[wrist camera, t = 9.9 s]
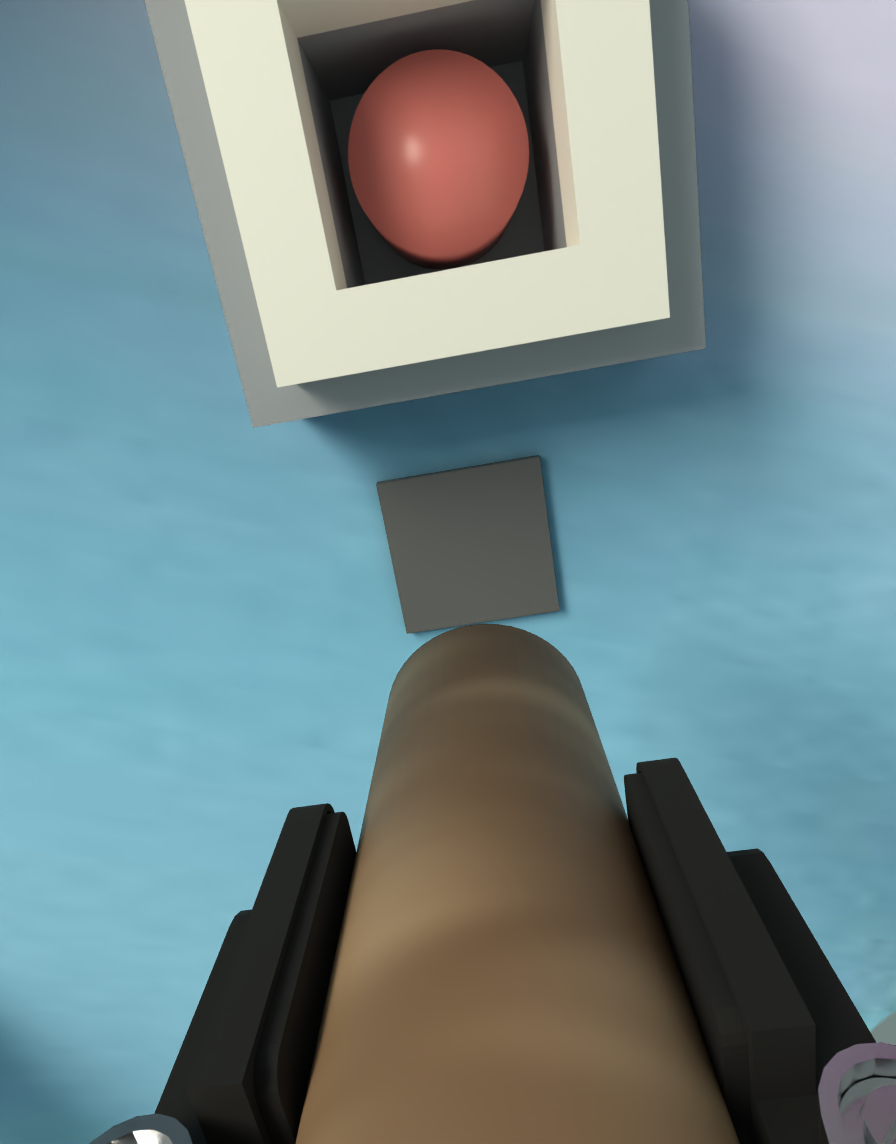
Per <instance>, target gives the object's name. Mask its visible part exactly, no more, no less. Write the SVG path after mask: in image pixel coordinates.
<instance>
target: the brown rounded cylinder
mask: <svg viewBox="0 0 896 1144" xmlns="http://www.w3.org/2000/svg"><path fill="white" fill-rule="evenodd" d="M296 1144H740V1143H739V1140H738V1137H737V1134H736V1131H735V1128H734V1125H733V1123H732V1120H731V1117H730V1114H729V1112H728V1109H727V1106H726V1103H725V1101H724V1098H723V1095H722V1092H721V1089H720V1086H719V1083H718V1080H717V1077H716V1074H715V1072H714V1069H713V1066H712V1063H711V1060H710V1057H709V1054H708V1051H707V1048H706V1045H705V1042H704V1040H703V1037H702V1034H701V1031H700V1028H699V1025H698V1022H697V1019H696V1016H695V1013H694V1011H693V1008H692V1005H691V1002H690V999H689V996H688V993H687V990H686V987H685V984H684V981H683V979H682V976H681V973H680V970H679V967H678V964H677V961H676V958H675V955H674V952H673V950H672V947H671V944H670V941H669V938H668V935H667V932H666V929H665V926H664V923H663V921H662V918H661V915H660V912H659V909H658V906H657V903H656V900H655V897H654V894H653V891H652V889H651V886H650V883H649V880H648V877H647V874H646V871H645V868H644V865H643V862H642V860H641V857H640V854H639V851H638V848H637V845H636V842H635V839H634V836H633V833H632V831H631V828H630V825H629V822H628V818H627V816H626V813H625V810H624V807H623V804H622V801H621V798H620V795H619V792H618V789H617V787H616V784H615V781H614V778H613V775H612V772H611V769H610V766H609V763H608V760H607V758H606V755H605V752H604V749H603V746H602V743H601V740H600V737H599V734H598V732H597V729H596V726H595V723H594V720H593V717H592V714H591V711H590V708H589V705H588V703H587V700H586V697H585V694H584V691H583V688H582V685H581V683H580V680H579V678H578V676H577V674H576V672H575V670H574V668H573V667H572V666H571V664H570V663H569V662H568V660H567V659H566V658H565V657H564V656H563V655H562V654H561V653H560V652H559V651H558V650H557V649H556V648H555V647H554V646H552V645H551V644H550V643H548V642H547V641H545V640H544V639H542V638H540V637H538V636H537V635H534V634H532V633H530V632H527V631H525V630H522V629H519V628H515V627H512V626H505V625H499V624H478V625H469V626H464V627H460V628H456V629H453V630H450V631H447V632H445V633H442V634H440V635H438V636H436V637H434V638H433V639H431V640H430V641H428V642H426V643H425V644H423V645H422V646H421V647H420V648H419V649H417V650H416V651H415V652H414V653H413V654H412V655H411V656H410V657H409V658H408V660H407V661H406V662H405V663H404V665H403V666H402V668H401V669H400V671H399V672H398V674H397V676H396V678H395V680H394V683H393V685H392V689H391V692H390V695H389V700H388V705H387V710H386V714H385V719H384V724H383V729H382V733H381V738H380V743H379V748H378V753H377V757H376V762H375V767H374V772H373V776H372V781H371V786H370V791H369V795H368V800H367V805H366V810H365V815H364V819H363V824H362V829H361V834H360V838H359V843H358V848H357V853H356V857H355V862H354V867H353V872H352V877H351V881H350V886H349V891H348V896H347V900H346V905H345V910H344V915H343V920H342V924H341V929H340V934H339V939H338V943H337V948H336V953H335V958H334V962H333V967H332V972H331V977H330V982H329V986H328V991H327V996H326V1001H325V1005H324V1010H323V1015H322V1020H321V1024H320V1029H319V1034H318V1039H317V1044H316V1048H315V1053H314V1058H313V1063H312V1067H311V1072H310V1077H309V1082H308V1086H307V1091H306V1096H305V1101H304V1106H303V1110H302V1115H301V1120H300V1125H299V1129H298V1134H297V1139H296Z"/></svg>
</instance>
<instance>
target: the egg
mask: <svg viewBox="0 0 896 1144" xmlns="http://www.w3.org/2000/svg"><path fill="white" fill-rule="evenodd" d="M348 163H349V170H350V176H351V180H352V184H353V188H354V191H355V193H356V196H357V199H358V201H359V203H360V205H361V207H362V208H363V210H364V212H365V213H366V215H367V216H368V218H369V219H370V221H371V222H372V224H373V225H374V226H375V228H376V229H377V231H378V232H379V233H380V235H381V236H382V238H383V239H384V240H385V242H386V243H387V244H388V245H389V246H390V247H391V248H392V249H393V250H394V251H395V252H396V253H397V254H399V255H400V256H402V257H403V258H405V259H406V260H408V261H410V262H412V263H414V264H416V265H419V266H422V267H425V268H431V269H444V270H445V269H454V268H458V267H462V266H465V265H467V264H470V263H472V262H474V261H476V260H477V259H479V258H481V257H482V256H484V255H485V254H486V253H487V252H489V251H490V250H491V249H492V248H493V247H494V246H495V245H496V244H497V242H498V241H499V240H500V238H501V237H502V236H503V234H504V233H505V231H506V229H507V227H508V226H509V223H510V221H511V219H512V216H513V214H514V212H515V209H516V207H517V204H518V202H519V199H520V197H521V194H522V192H523V188H524V185H525V182H526V178H527V172H528V166H529V140H528V134H527V128H526V124H525V120H524V117H523V114H522V111H521V109H520V107H519V104H518V102H517V100H516V98H515V97H514V95H513V93H512V92H511V90H510V88H509V87H508V86H507V85H506V83H505V82H504V81H503V79H502V78H501V77H500V76H499V75H498V74H497V73H496V72H495V71H493V70H492V69H491V68H490V67H488V66H487V65H486V64H484V63H483V62H481V61H479V60H477V59H476V58H474V57H472V56H469V55H466V54H464V53H461V52H457V51H451V50H440V49H433V50H426V51H420V52H417V53H413V54H410V55H408V56H406V57H404V58H401V59H399V60H398V61H396V62H395V63H393V64H392V65H390V66H388V67H387V68H386V69H385V70H384V71H383V72H382V73H380V74H379V75H378V76H377V78H376V79H375V80H374V81H373V82H372V83H371V84H370V86H369V87H368V89H367V90H366V92H365V93H364V95H363V97H362V99H361V101H360V103H359V105H358V107H357V109H356V112H355V115H354V118H353V120H352V125H351V129H350V134H349V143H348Z"/></svg>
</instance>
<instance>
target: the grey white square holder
mask: <svg viewBox="0 0 896 1144" xmlns="http://www.w3.org/2000/svg"><path fill="white" fill-rule="evenodd" d="M144 2H145V6H146V10H147V14H148V18H149V22H150V26H151V29H152V33H153V37H154V41H155V45H156V49H157V53H158V57H159V61H160V65H161V69H162V73H163V77H164V81H165V84H166V88H167V92H168V96H169V100H170V104H171V108H172V112H173V116H174V120H175V124H176V128H177V132H178V135H179V139H180V143H181V147H182V151H183V155H184V159H185V163H186V167H187V171H188V175H189V179H190V183H191V186H192V190H193V194H194V198H195V202H196V206H197V210H198V214H199V218H200V222H201V226H202V230H203V234H204V238H205V241H206V245H207V249H208V253H209V257H210V261H211V265H212V269H213V273H214V277H215V281H216V285H217V289H218V292H219V296H220V300H221V304H222V308H223V312H224V316H225V320H226V324H227V328H228V332H229V336H230V340H231V343H232V347H233V351H234V355H235V359H236V363H237V367H238V371H239V375H240V379H241V383H242V387H243V391H244V395H245V398H246V402H247V406H248V410H249V414H250V418H251V422H252V426H253V428H254V427H260V426H265V425H271V424H277V423H282V422H288V421H294V420H300V419H305V418H311V417H317V416H323V415H328V414H334V413H340V412H345V411H351V410H357V409H363V408H368V407H374V406H380V405H385V404H391V403H397V402H403V401H408V400H414V399H420V398H426V397H431V396H437V395H443V394H448V393H454V392H460V391H466V390H471V389H477V388H483V387H489V386H494V385H500V384H506V383H511V382H517V381H523V380H529V379H534V378H540V377H546V376H552V375H557V374H563V373H569V372H574V371H580V370H586V369H592V368H597V367H603V366H609V365H615V364H620V363H626V362H632V361H637V360H643V359H649V358H655V357H660V356H666V355H672V354H678V353H683V352H689V351H695V350H700V349H706V342H705V323H704V303H703V283H702V263H701V244H700V224H699V204H698V184H697V165H696V145H695V125H694V105H693V86H692V66H691V46H690V26H689V7H688V0H144ZM433 49H440V50H451V51H457V52H461V53H464V54H466V55H469V56H472V57H474V58H476V59H477V60H479V61H481V62H483V63H484V64H486V65H487V66H488V67H490V68H491V69H492V70H493V71H495V72H496V73H497V74H498V75H499V76H500V77H501V78H502V79H503V81H504V82H505V83H506V85H507V86H508V87H509V88H510V90H511V92H512V93H513V95H514V97H515V98H516V100H517V102H518V104H519V107H520V109H521V111H522V114H523V117H524V120H525V124H526V128H527V134H528V140H529V166H528V172H527V178H526V182H525V185H524V188H523V192H522V194H521V197H520V199H519V202H518V204H517V207H516V209H515V212H514V214H513V216H512V219H511V221H510V223H509V226H508V227H507V229H506V231H505V233H504V234H503V236H502V237H501V238H500V240H499V241H498V242H497V244H496V245H495V246H494V247H493V248H492V249H491V250H490V251H489V252H487V253H486V254H485V255H484V256H482V257H481V258H479V259H477V260H476V261H474V262H472V263H470V264H467V265H465V266H462V267H458V268H454V269H445V270H444V269H431V268H425V267H422V266H419V265H416V264H414V263H412V262H410V261H408V260H406V259H405V258H403V257H402V256H400V255H399V254H397V253H396V252H395V251H394V250H393V249H392V248H391V247H390V246H389V245H388V244H387V243H386V242H385V240H384V239H383V238H382V236H381V235H380V233H379V232H378V231H377V229H376V228H375V226H374V225H373V224H372V222H371V221H370V219H369V218H368V216H367V215H366V213H365V212H364V210H363V208H362V207H361V205H360V203H359V201H358V199H357V196H356V193H355V191H354V188H353V184H352V180H351V176H350V170H349V163H348V143H349V134H350V129H351V125H352V120H353V118H354V115H355V112H356V109H357V107H358V105H359V103H360V101H361V99H362V97H363V95H364V93H365V92H366V90H367V89H368V87H369V86H370V84H371V83H372V82H373V81H374V80H375V79H376V78H377V76H378V75H379V74H380V73H382V72H383V71H384V70H385V69H386V68H387V67H388V66H390V65H392V64H393V63H395V62H396V61H398V60H399V59H401V58H404V57H406V56H408V55H410V54H413V53H417V52H420V51H426V50H433Z"/></svg>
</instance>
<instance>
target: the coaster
mask: <svg viewBox="0 0 896 1144" xmlns="http://www.w3.org/2000/svg"><path fill="white" fill-rule="evenodd" d="M376 485H377V490H378V495H379V500H380V505H381V510H382V515H383V520H384V525H385V529H386V534H387V539H388V544H389V549H390V554H391V559H392V564H393V568H394V573H395V578H396V583H397V588H398V593H399V598H400V603H401V608H402V612H403V617H404V622H405V627H406V632H407V634H408V633H414V632H421V631H428V630H434V629H441V628H448V627H454V626H461V625H467V624H474V623H481V622H487V621H494V620H500V619H507V618H514V617H520V616H527V615H533V614H540V613H547V612H553V611H559V603H558V595H557V588H556V580H555V572H554V564H553V556H552V549H551V541H550V533H549V525H548V517H547V510H546V502H545V494H544V486H543V478H542V471H541V463H540V457H539V455H537V456H531V457H525V458H519V459H513V460H507V461H501V462H495V463H489V464H483V465H477V466H471V467H465V468H459V469H453V470H447V471H441V472H435V473H429V474H423V475H417V476H411V477H405V478H399V479H393V480H387V481H381V482H377V484H376Z"/></svg>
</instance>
